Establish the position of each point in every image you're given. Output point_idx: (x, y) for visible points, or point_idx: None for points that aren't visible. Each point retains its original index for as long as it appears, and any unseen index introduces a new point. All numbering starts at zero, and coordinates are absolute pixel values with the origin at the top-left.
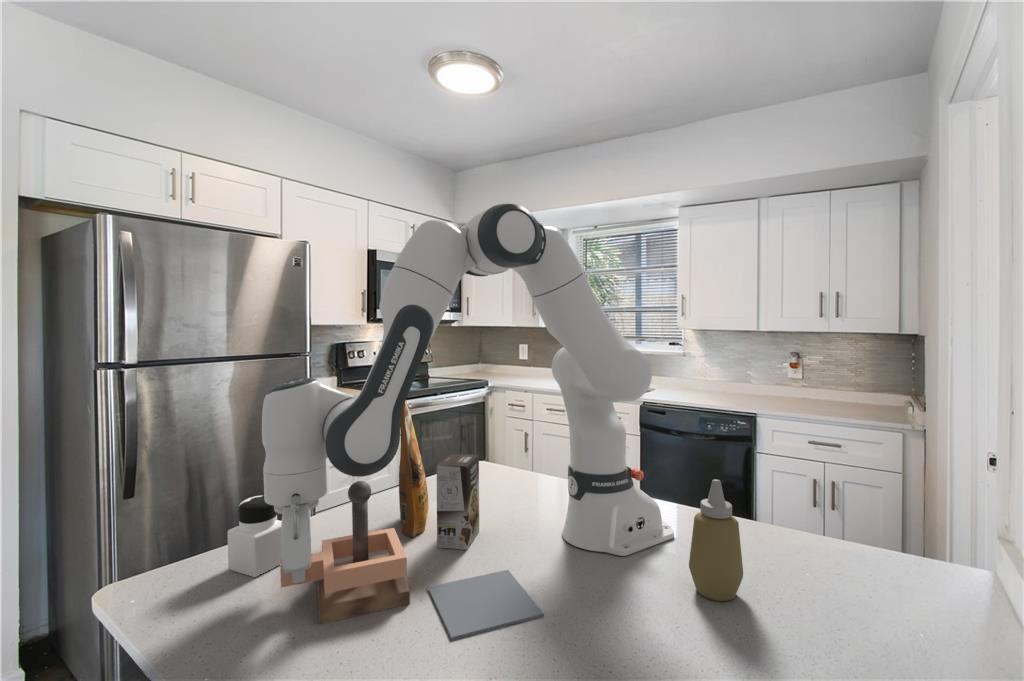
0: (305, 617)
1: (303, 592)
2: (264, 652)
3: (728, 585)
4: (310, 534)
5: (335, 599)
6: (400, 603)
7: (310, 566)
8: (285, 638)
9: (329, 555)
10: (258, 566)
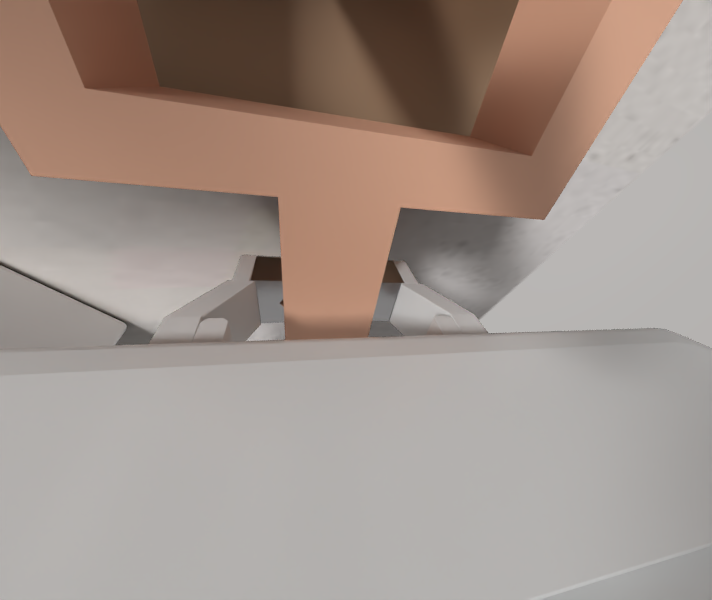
0: (401, 215)
1: (256, 210)
2: (465, 289)
3: None
4: (517, 418)
5: (458, 131)
6: None
7: (667, 330)
8: (452, 258)
9: (363, 160)
10: (102, 341)
